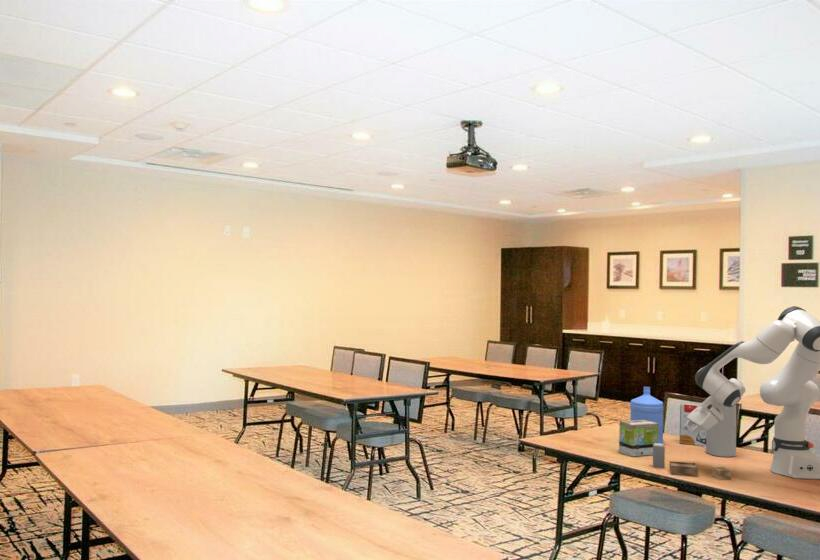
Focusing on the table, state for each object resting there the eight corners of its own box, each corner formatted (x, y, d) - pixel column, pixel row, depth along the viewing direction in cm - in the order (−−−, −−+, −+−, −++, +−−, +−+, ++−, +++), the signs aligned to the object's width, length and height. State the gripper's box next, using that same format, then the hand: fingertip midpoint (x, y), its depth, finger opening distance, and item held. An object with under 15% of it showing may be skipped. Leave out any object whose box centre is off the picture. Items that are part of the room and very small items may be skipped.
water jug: (660, 448, 313) (660, 390, 313) (626, 444, 321) (627, 387, 321) (665, 442, 326) (666, 386, 327) (633, 438, 334) (633, 384, 335)
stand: (695, 471, 271) (695, 463, 271) (697, 476, 263) (697, 467, 263) (669, 469, 274) (669, 461, 274) (671, 474, 266) (671, 465, 266)
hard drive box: (679, 443, 324) (679, 403, 324) (680, 440, 330) (680, 401, 331) (713, 447, 316) (713, 406, 317) (714, 444, 323) (714, 404, 324)
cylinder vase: (700, 452, 306) (700, 399, 306) (718, 450, 311) (719, 397, 312) (723, 458, 295) (723, 403, 295) (742, 456, 300) (742, 401, 300)
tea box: (633, 457, 294) (634, 424, 295) (618, 452, 303) (618, 420, 304) (658, 454, 300) (659, 422, 301) (642, 449, 309) (643, 418, 310)
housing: (663, 465, 280) (663, 443, 280) (664, 468, 276) (664, 445, 276) (652, 464, 281) (652, 442, 282) (653, 467, 277) (653, 444, 278)
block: (724, 476, 264) (724, 467, 264) (731, 480, 259) (731, 470, 259) (712, 476, 264) (712, 467, 264) (719, 480, 259) (719, 470, 259)
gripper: (698, 400, 287) (675, 421, 288) (714, 408, 267) (689, 431, 268) (708, 410, 286) (685, 432, 287) (725, 419, 266) (700, 442, 267)
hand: (687, 431), depth 277 cm, fingers open, 8 cm apart
